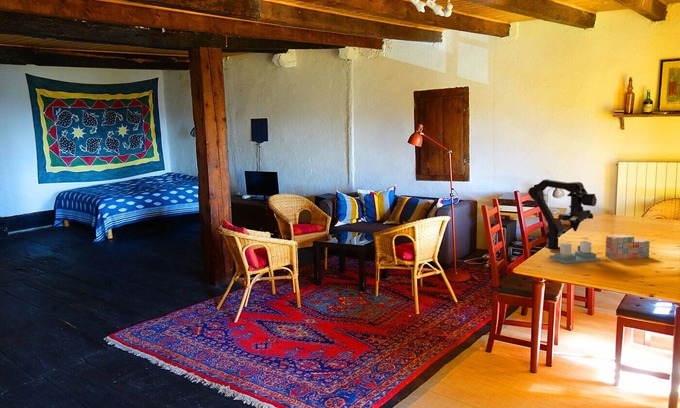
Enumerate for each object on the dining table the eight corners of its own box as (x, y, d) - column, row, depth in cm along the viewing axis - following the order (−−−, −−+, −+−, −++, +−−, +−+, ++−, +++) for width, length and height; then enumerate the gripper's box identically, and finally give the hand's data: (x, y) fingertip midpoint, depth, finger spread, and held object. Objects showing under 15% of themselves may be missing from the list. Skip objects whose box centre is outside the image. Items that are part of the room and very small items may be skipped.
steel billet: (579, 255, 298) (580, 241, 297) (586, 254, 299) (586, 240, 297) (584, 257, 294) (584, 243, 293) (590, 256, 295) (591, 242, 293)
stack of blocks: (641, 254, 299) (643, 233, 297) (649, 257, 293) (650, 235, 291) (604, 256, 298) (606, 235, 296) (611, 259, 292) (612, 237, 290)
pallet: (549, 257, 300) (549, 241, 299) (584, 254, 304) (585, 238, 303) (563, 263, 287) (564, 247, 285) (600, 260, 290) (601, 244, 289)
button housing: (577, 250, 311) (577, 245, 311) (585, 250, 312) (585, 245, 312) (582, 252, 307) (583, 247, 306) (590, 252, 307) (591, 247, 307)
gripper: (569, 207, 296) (568, 235, 299) (600, 205, 300) (598, 232, 302) (558, 204, 307) (557, 231, 310) (587, 202, 310) (586, 228, 313)
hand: (575, 231), depth 308 cm, fingers closed
